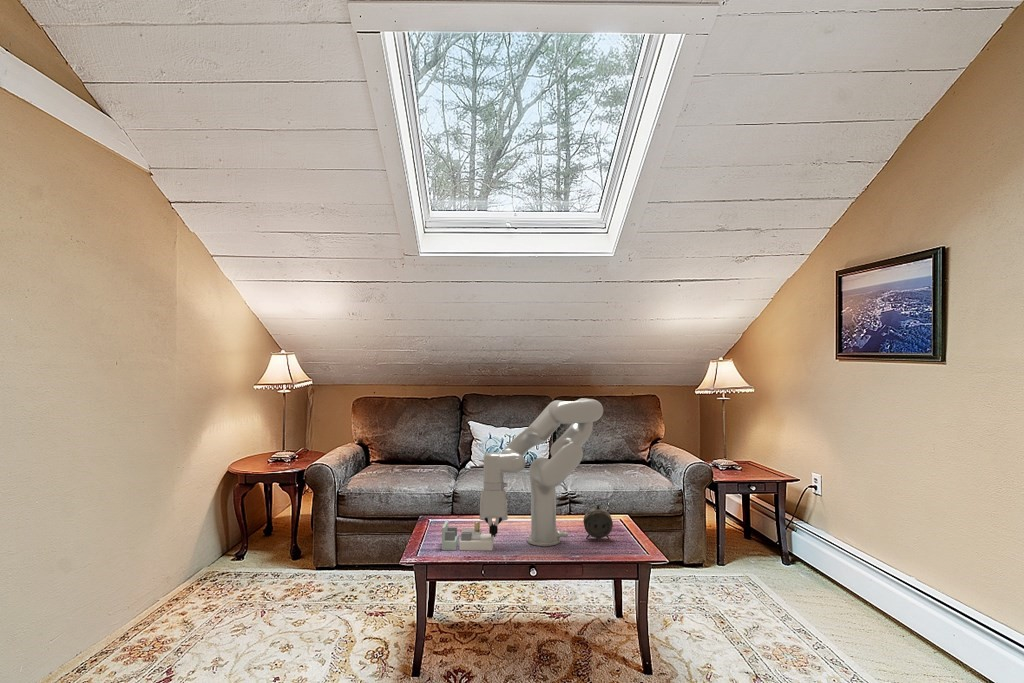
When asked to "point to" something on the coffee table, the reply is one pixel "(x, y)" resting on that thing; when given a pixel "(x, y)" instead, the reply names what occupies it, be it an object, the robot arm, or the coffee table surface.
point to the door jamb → (449, 537)
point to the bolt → (474, 531)
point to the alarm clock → (598, 522)
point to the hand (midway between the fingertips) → (493, 535)
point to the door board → (476, 542)
